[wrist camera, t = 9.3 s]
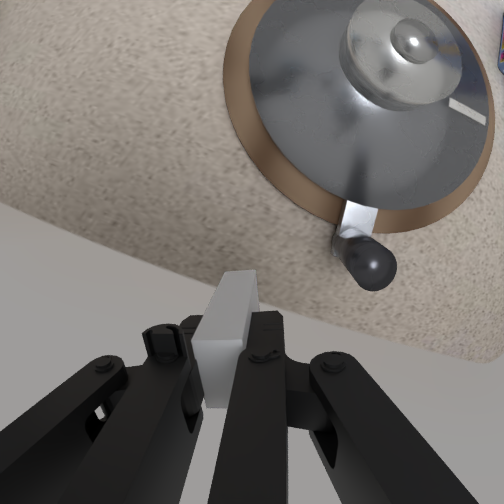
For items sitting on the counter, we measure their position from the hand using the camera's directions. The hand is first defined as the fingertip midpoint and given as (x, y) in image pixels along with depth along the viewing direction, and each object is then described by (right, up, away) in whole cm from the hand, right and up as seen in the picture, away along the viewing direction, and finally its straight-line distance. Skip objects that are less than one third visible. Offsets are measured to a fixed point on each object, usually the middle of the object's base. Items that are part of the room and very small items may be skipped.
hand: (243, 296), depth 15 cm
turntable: (+10, +13, +4) cm, 17 cm away
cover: (+11, +16, +2) cm, 19 cm away
